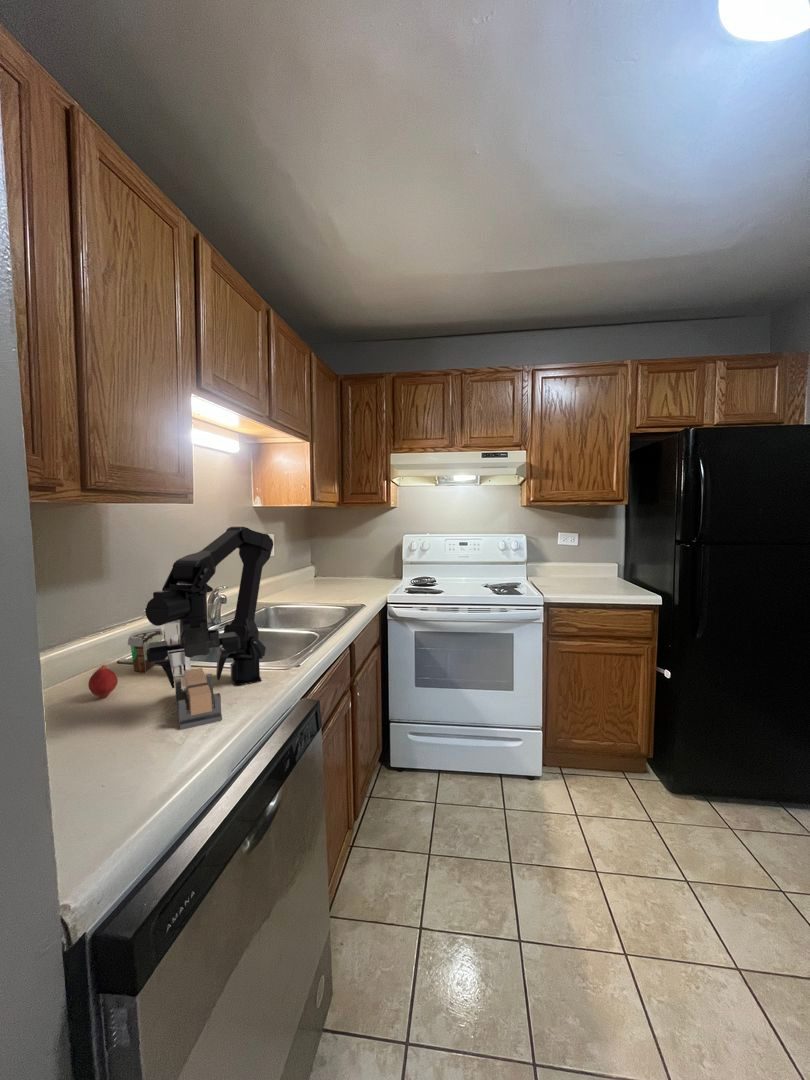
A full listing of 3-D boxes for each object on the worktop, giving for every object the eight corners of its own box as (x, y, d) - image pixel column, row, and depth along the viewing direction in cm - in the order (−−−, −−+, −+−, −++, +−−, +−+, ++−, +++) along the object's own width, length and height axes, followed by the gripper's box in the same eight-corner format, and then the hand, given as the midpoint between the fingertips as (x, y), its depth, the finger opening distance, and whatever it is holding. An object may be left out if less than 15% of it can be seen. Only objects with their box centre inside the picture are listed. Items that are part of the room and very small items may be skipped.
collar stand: (211, 692, 113) (210, 672, 112) (222, 720, 97) (221, 697, 97) (175, 698, 109) (174, 678, 108) (180, 729, 93) (179, 705, 93)
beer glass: (162, 679, 122) (160, 623, 121) (169, 670, 129) (166, 618, 128) (191, 676, 124) (189, 621, 123) (195, 668, 131) (193, 616, 130)
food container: (142, 661, 137) (140, 628, 137) (163, 660, 138) (162, 627, 137) (119, 675, 125) (118, 639, 124) (143, 675, 125) (141, 639, 125)
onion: (101, 704, 106) (99, 670, 106) (83, 700, 108) (81, 667, 108) (123, 694, 112) (122, 662, 111) (106, 691, 114) (104, 660, 113)
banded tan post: (203, 684, 112) (202, 667, 111) (212, 711, 96) (211, 692, 96) (184, 687, 110) (183, 670, 109) (190, 716, 94) (189, 696, 94)
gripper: (145, 628, 90) (148, 705, 91) (243, 616, 99) (246, 687, 100) (145, 617, 100) (148, 687, 101) (235, 607, 109) (237, 672, 110)
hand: (196, 683), depth 102 cm, fingers open, 9 cm apart
